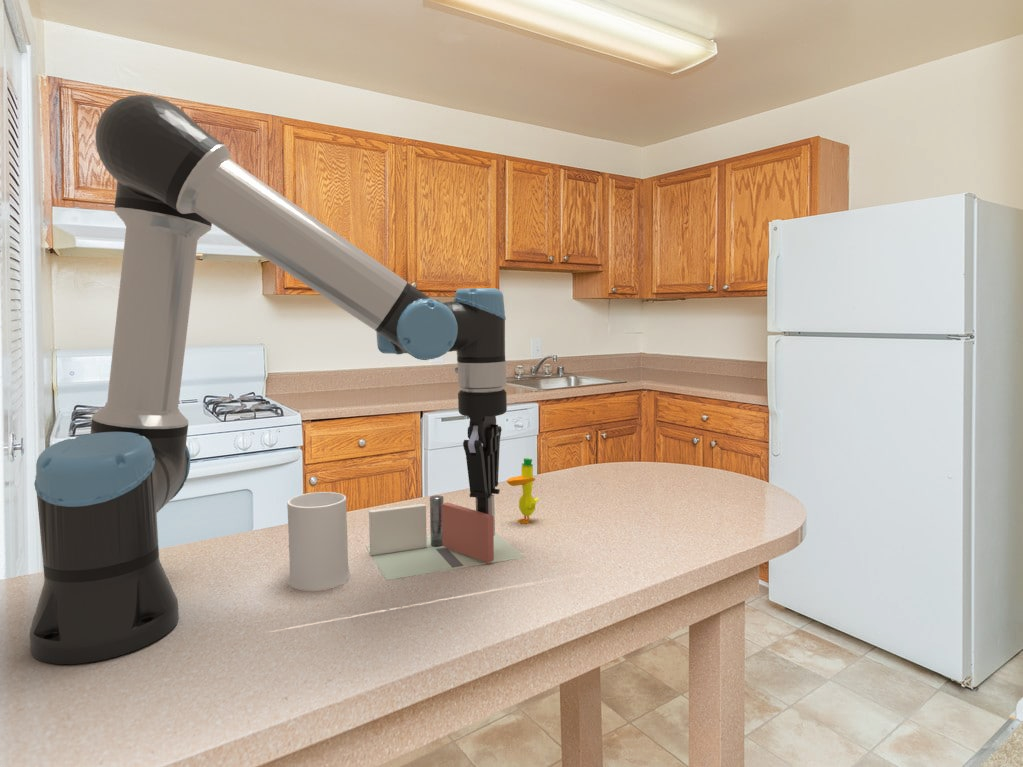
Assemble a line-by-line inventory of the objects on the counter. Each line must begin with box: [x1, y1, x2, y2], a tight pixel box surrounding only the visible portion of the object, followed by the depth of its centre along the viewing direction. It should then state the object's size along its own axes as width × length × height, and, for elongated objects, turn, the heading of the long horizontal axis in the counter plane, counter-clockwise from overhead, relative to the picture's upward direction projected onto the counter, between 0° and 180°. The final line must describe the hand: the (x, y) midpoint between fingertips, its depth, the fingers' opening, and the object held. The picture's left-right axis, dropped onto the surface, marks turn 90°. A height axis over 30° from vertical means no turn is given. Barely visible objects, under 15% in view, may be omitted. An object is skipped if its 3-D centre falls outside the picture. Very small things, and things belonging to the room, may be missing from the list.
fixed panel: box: [368, 503, 427, 557], centre depth 104 cm, size 9×1×7 cm, turn 113°
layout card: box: [365, 532, 526, 581], centre depth 104 cm, size 22×15×1 cm
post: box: [429, 494, 444, 547], centre depth 106 cm, size 2×2×8 cm
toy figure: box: [506, 457, 540, 525], centre depth 118 cm, size 7×4×12 cm, turn 121°
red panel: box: [442, 501, 494, 562], centre depth 102 cm, size 10×1×7 cm, turn 47°
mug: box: [286, 491, 351, 592], centre depth 94 cm, size 12×8×12 cm
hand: (485, 535), depth 103 cm, fingers closed
